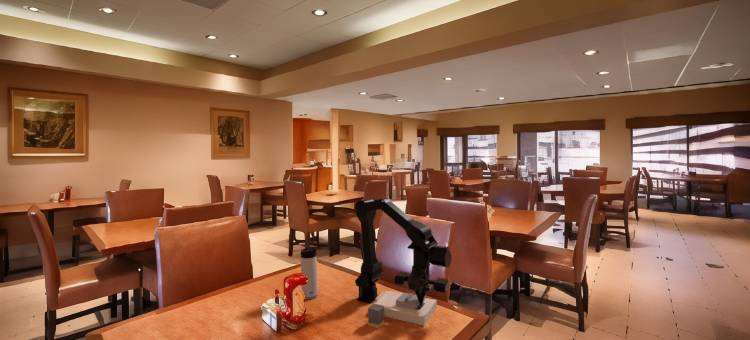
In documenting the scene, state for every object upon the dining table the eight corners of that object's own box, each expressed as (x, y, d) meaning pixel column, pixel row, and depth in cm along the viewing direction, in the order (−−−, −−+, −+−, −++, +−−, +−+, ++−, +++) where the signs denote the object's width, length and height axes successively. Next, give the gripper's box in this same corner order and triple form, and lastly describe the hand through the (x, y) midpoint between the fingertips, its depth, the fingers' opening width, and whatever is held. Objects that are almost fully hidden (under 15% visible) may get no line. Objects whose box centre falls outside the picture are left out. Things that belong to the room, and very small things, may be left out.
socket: (436, 308, 128) (436, 296, 127) (424, 325, 115) (424, 313, 115) (387, 298, 137) (387, 287, 136) (371, 313, 124) (371, 302, 124)
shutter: (421, 301, 126) (421, 293, 126) (414, 309, 120) (414, 301, 120) (403, 297, 130) (403, 290, 130) (396, 305, 123) (395, 298, 123)
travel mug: (315, 300, 135) (313, 250, 134) (299, 299, 137) (297, 249, 135) (320, 293, 142) (319, 246, 140) (305, 292, 143) (304, 245, 142)
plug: (368, 325, 116) (368, 308, 115) (373, 320, 119) (373, 303, 119) (378, 328, 114) (378, 310, 114) (384, 322, 117) (383, 305, 117)
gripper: (387, 265, 119) (388, 309, 120) (440, 273, 110) (440, 320, 111) (400, 256, 129) (400, 296, 130) (449, 263, 120) (449, 306, 121)
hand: (421, 304), depth 123 cm, fingers closed
